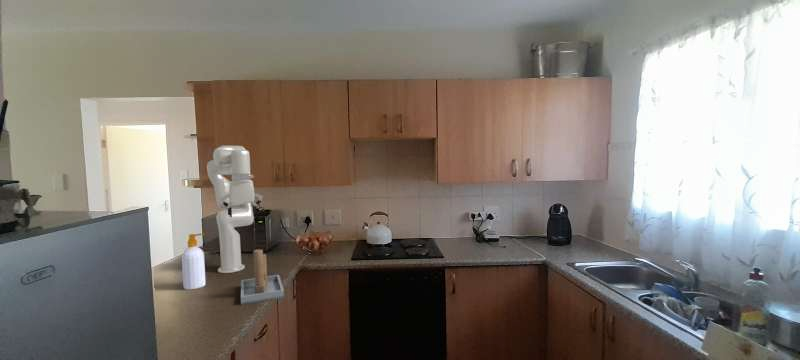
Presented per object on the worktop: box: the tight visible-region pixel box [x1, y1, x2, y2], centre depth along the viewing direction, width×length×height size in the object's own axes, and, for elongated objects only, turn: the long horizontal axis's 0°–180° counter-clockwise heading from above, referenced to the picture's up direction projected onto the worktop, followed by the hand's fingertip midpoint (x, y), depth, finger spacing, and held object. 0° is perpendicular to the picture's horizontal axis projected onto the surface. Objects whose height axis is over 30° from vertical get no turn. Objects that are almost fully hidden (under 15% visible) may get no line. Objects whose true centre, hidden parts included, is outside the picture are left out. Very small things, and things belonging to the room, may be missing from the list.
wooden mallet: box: [253, 249, 268, 294], centre depth 147 cm, size 4×11×18 cm, turn 14°
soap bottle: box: [181, 233, 206, 291], centre depth 156 cm, size 9×9×24 cm
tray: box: [240, 274, 285, 306], centre depth 148 cm, size 22×16×3 cm
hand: (242, 215), depth 155 cm, fingers open, 9 cm apart
